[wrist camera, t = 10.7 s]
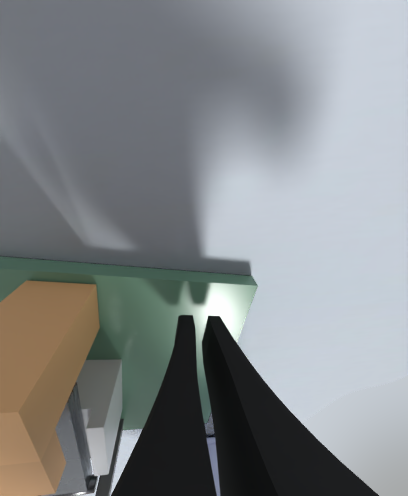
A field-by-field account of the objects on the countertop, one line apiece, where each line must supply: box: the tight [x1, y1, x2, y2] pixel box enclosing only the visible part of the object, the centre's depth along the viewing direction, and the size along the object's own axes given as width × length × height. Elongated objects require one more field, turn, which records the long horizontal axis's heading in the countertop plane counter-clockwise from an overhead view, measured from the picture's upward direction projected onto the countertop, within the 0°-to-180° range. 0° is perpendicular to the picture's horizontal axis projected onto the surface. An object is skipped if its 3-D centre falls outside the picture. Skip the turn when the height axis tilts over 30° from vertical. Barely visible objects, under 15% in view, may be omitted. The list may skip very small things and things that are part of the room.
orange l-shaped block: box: [0, 281, 100, 496], centre depth 8 cm, size 6×3×5 cm, turn 170°
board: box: [0, 256, 258, 496], centre depth 11 cm, size 16×15×5 cm
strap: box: [40, 382, 98, 496], centre depth 10 cm, size 11×3×1 cm, turn 170°
